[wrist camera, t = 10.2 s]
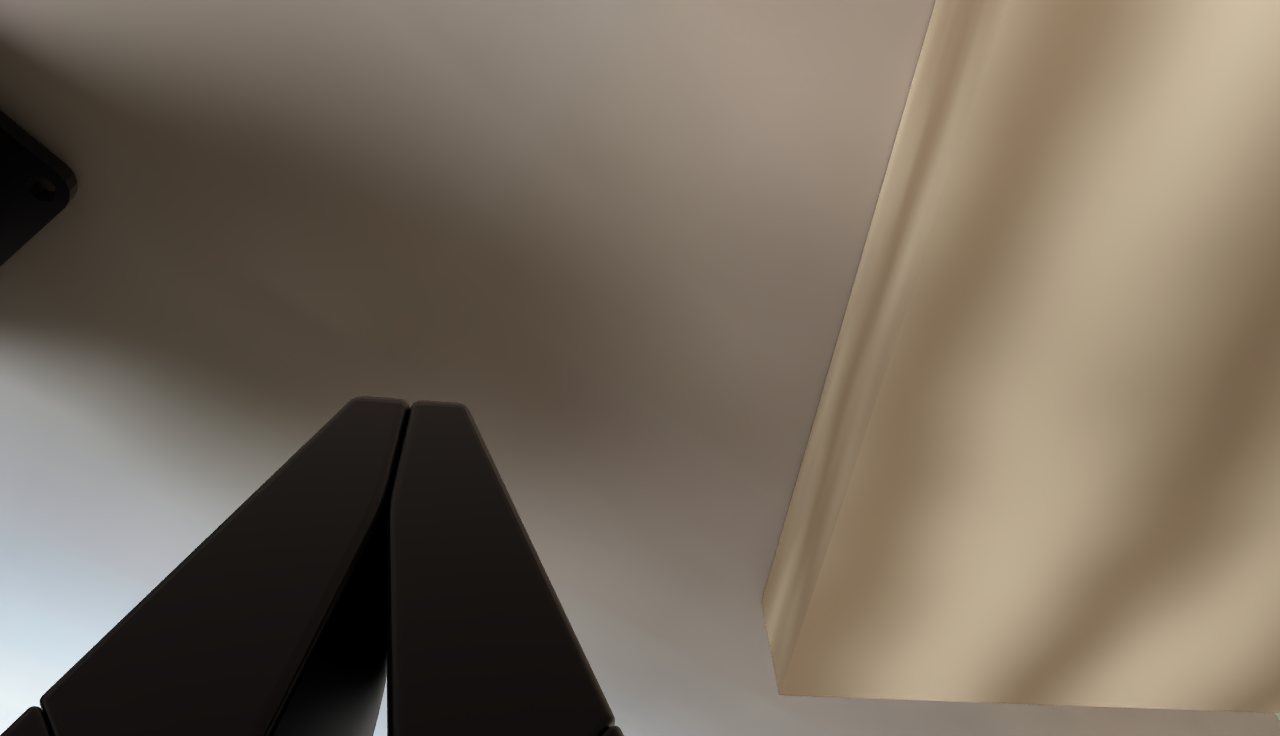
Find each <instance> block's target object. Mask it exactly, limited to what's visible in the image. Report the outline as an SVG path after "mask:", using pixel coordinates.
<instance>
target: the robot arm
mask: <svg viewBox="0 0 1280 736" xmlns="http://www.w3.org/2000/svg"><path fill="white" fill-rule="evenodd" d="M36 177H43V178H45V179H47V180H49V181H50V182H51V183H52V184H53V185H54V186H55V189H56V192H53V191H47V190H45V189H44V188H42V187H41V186H40V185H39V184H38V183H37V182H36ZM76 192H77V180H76V177H75V175H74V173H73V171H72V170H71V169H70V168H69V167H68V166H67V165H66V164H65V163H64V162H63V161H61V160H60V159H59V158H58V157H57V156H55V155H54V154H53V153H52V152H50V151H49V150H48V149H47V148H46V147H44V146H43V145H42V144H41V143H39V142H38V141H37V140H36V139H35V138H33V137H32V136H31V135H30V134H28V133H27V132H26V131H25V130H24V129H22V128H21V127H20V126H19V125H17V124H16V123H15V122H14V121H13V120H11V119H10V118H9V117H8V116H6V115H5V114H4V113H3V112H2V111H0V266H1V265H2V264H4V263H5V262H6V261H7V260H8V259H9V258H10V257H11V256H12V255H13V254H15V253H16V252H17V251H18V250H19V249H20V248H21V247H22V246H23V245H24V244H25V243H27V242H28V241H29V240H30V239H31V238H32V237H33V236H34V235H35V234H36V233H38V232H39V231H40V230H41V229H42V228H43V227H44V226H45V225H46V224H47V223H49V222H50V221H51V220H52V219H53V218H54V217H55V216H56V215H57V214H58V213H60V212H61V211H62V210H63V209H64V208H65V207H66V206H67V204H68V203H69V202H70V201H71V199H72V198H73V196H74V195H75V193H76ZM386 676H387V736H624V735H623V733H622V731H621V729H620V728H619V727H618V726H614V724H615V718H614V715H613V713H612V711H611V709H610V707H609V705H608V703H607V700H606V698H605V696H604V694H603V692H602V690H601V688H600V686H599V683H598V681H597V679H596V677H595V675H594V673H593V671H592V669H591V667H590V664H589V662H588V660H587V658H586V656H585V654H584V652H583V650H582V648H581V645H580V643H579V641H578V639H577V637H576V635H575V633H574V631H573V629H572V626H571V624H570V622H569V620H568V618H567V616H566V614H565V612H564V610H563V607H562V605H561V603H560V601H559V599H558V597H557V595H556V593H555V591H554V588H553V586H552V584H551V582H550V580H549V578H548V576H547V574H546V572H545V569H544V567H543V565H542V563H541V561H540V559H539V557H538V555H537V552H536V550H535V548H534V546H533V544H532V542H531V540H530V538H529V536H528V533H527V531H526V529H525V527H524V525H523V523H522V521H521V519H520V517H519V514H518V512H517V510H516V508H515V506H514V504H513V502H512V500H511V498H510V495H509V493H508V491H507V489H506V487H505V485H504V483H503V481H502V479H501V476H500V474H499V472H498V470H497V468H496V466H495V464H494V462H493V460H492V457H491V455H490V453H489V451H488V449H487V447H486V445H485V443H484V440H483V438H482V436H481V434H480V432H479V430H478V428H477V426H476V424H475V421H474V419H473V417H472V415H471V413H470V411H469V410H468V408H467V407H466V406H465V405H463V404H460V403H451V402H437V401H417V402H415V403H414V404H413V405H412V406H411V408H410V406H409V404H408V403H407V402H406V401H405V400H402V399H393V398H379V397H365V396H362V397H356V398H354V399H352V400H351V401H349V402H348V403H347V404H346V405H345V406H344V407H343V408H342V409H341V410H340V411H339V412H338V413H337V414H336V415H335V416H334V417H333V418H332V419H331V420H330V421H328V422H327V423H326V424H325V425H324V426H323V427H322V428H321V429H320V430H319V431H318V432H317V433H316V434H315V435H314V436H313V437H312V438H311V439H310V440H309V441H308V442H307V443H306V444H304V445H303V446H302V447H301V448H300V449H299V450H298V451H297V452H296V453H295V454H294V455H293V456H292V457H291V458H290V459H289V460H288V461H287V462H286V463H285V464H284V465H283V466H282V467H281V468H279V469H278V470H277V471H276V472H275V473H274V474H273V475H272V476H271V477H270V478H269V479H268V480H267V481H266V482H265V483H264V484H263V485H262V486H261V487H260V488H259V489H258V490H257V491H255V492H254V493H253V494H252V495H251V496H250V497H249V498H248V499H247V500H246V501H245V502H244V503H243V504H242V505H241V506H240V507H239V508H238V509H237V510H236V511H235V512H234V513H233V514H232V515H230V516H229V517H228V518H227V519H226V520H225V521H224V522H223V523H222V524H221V525H220V526H219V527H218V528H217V529H216V530H215V531H214V532H213V533H212V534H211V535H210V536H209V537H208V538H206V539H205V540H204V541H203V542H202V543H201V544H200V545H199V546H198V547H197V548H196V549H195V550H194V551H193V552H192V553H191V554H190V555H189V556H188V557H187V558H186V559H185V560H184V561H182V562H181V563H180V564H179V565H178V566H177V567H176V568H175V569H174V570H173V571H172V572H171V573H170V574H169V575H168V576H167V577H166V578H165V579H164V580H163V581H162V582H161V583H160V584H159V585H157V586H156V587H155V588H154V589H153V590H152V591H151V592H150V593H149V594H148V595H147V596H146V597H145V598H144V599H143V600H142V601H141V602H140V603H139V604H138V605H137V606H136V607H135V608H133V609H132V610H131V611H130V612H129V613H128V614H127V615H126V616H125V617H124V618H123V619H122V620H121V621H120V622H119V623H118V624H117V625H116V626H115V627H114V628H113V629H112V630H111V631H109V632H108V633H107V634H106V635H105V636H104V637H103V638H102V639H101V640H100V641H99V642H98V643H97V644H96V645H95V646H94V647H93V648H92V649H91V650H90V651H89V652H88V653H87V654H86V655H84V656H83V657H82V658H81V659H80V660H79V661H78V662H77V663H76V664H75V665H74V666H73V667H72V668H71V669H70V670H69V671H68V672H67V673H66V674H65V675H64V676H63V677H62V678H60V679H59V680H58V681H57V682H56V683H55V684H54V685H53V686H52V687H51V688H50V689H49V690H48V691H47V692H46V693H45V694H44V695H43V696H42V697H41V699H40V706H41V708H39V707H35V706H33V707H30V708H29V709H27V710H26V711H25V712H24V713H23V714H22V715H21V716H20V717H19V718H18V719H17V720H16V721H15V722H14V723H13V724H12V725H11V726H10V727H9V728H8V729H7V730H6V731H4V732H3V733H2V734H1V735H0V736H373V734H374V730H375V726H376V722H377V718H378V714H379V710H380V705H381V701H382V696H383V692H384V688H385V683H386ZM41 709H42V710H41Z"/></svg>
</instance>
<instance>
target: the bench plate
mask: <svg viewBox="0 0 1280 736" xmlns="http://www.w3.org/2000/svg"><path fill="white" fill-rule="evenodd" d="M761 603H762V608H763V613H764V619H765V624H766V629H767V634H768V639H769V644H770V650H771V655H772V660H773V665H774V670H775V675H776V681H777V686H778V691H779V695H785V696H813V697H841V698H869V699H897V700H925V701H953V702H981V703H1009V704H1037V705H1065V706H1093V707H1121V708H1149V709H1177V710H1206V711H1234V712H1262V713H1280V0H936V2H935V5H934V9H933V12H932V16H931V19H930V23H929V26H928V30H927V33H926V36H925V40H924V43H923V47H922V50H921V54H920V57H919V61H918V64H917V67H916V71H915V74H914V78H913V81H912V85H911V88H910V92H909V95H908V99H907V102H906V105H905V109H904V112H903V116H902V119H901V123H900V126H899V130H898V133H897V136H896V140H895V143H894V147H893V150H892V154H891V157H890V161H889V164H888V167H887V171H886V174H885V178H884V181H883V185H882V188H881V192H880V195H879V198H878V202H877V205H876V209H875V212H874V216H873V219H872V223H871V226H870V229H869V233H868V236H867V240H866V243H865V247H864V250H863V254H862V257H861V261H860V264H859V267H858V271H857V274H856V278H855V281H854V285H853V288H852V292H851V295H850V298H849V302H848V305H847V309H846V312H845V316H844V319H843V323H842V326H841V329H840V333H839V336H838V340H837V343H836V347H835V350H834V354H833V357H832V360H831V364H830V367H829V371H828V374H827V378H826V381H825V385H824V388H823V391H822V395H821V398H820V402H819V405H818V409H817V412H816V416H815V419H814V422H813V426H812V429H811V433H810V436H809V440H808V443H807V447H806V450H805V454H804V457H803V460H802V464H801V467H800V471H799V474H798V478H797V481H796V485H795V488H794V491H793V495H792V498H791V502H790V505H789V509H788V512H787V516H786V519H785V522H784V526H783V529H782V533H781V536H780V540H779V543H778V547H777V550H776V553H775V557H774V560H773V564H772V567H771V571H770V574H769V578H768V581H767V584H766V588H765V591H764V595H763V598H762V602H761Z"/></svg>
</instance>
